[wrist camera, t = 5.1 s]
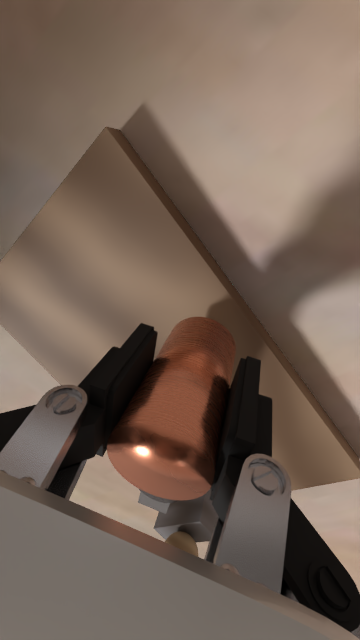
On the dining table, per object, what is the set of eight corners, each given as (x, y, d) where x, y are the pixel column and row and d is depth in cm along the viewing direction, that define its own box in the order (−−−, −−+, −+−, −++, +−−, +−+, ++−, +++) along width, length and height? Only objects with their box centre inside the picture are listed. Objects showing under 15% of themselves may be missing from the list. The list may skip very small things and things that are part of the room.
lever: (179, 494, 24) (141, 633, 17) (139, 478, 24) (86, 607, 17) (249, 313, 15) (231, 453, 7) (183, 292, 15) (107, 406, 8)
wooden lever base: (185, 495, 28) (162, 587, 22) (-13, 292, 23) (-119, 340, 16) (358, 457, 20) (398, 585, 14) (119, 130, 15) (10, 103, 8)
